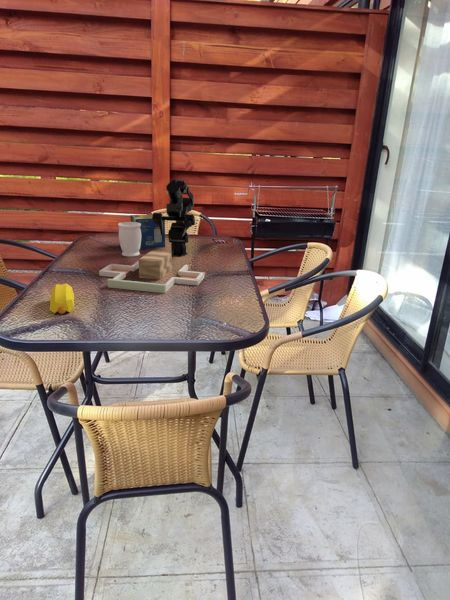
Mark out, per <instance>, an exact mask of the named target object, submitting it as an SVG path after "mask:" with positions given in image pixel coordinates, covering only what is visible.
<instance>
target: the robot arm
mask: <svg viewBox="0 0 450 600" xmlns="http://www.w3.org/2000/svg"><path fill="white" fill-rule="evenodd" d="M166 192H167V194H168V197H169V202H168V203H167V204H166V207H165V209H166V215H163V214H162V212H153V213H152V219H153V221H154V223H155V224H157V225H159V227H160V232H161V236H162V235H163V220H165V221H168V222H169V221H170V222H171V221H172V223H171V225H170V227H169V228H170V229H168V234H167V235H168V243H171V251H170V252H172V256H175V257H182V256H183V257H184V256H185V255H188V252H187V245H186V244H188V243H189V235H188V232H187V231H188V230H189V228H192V227H193V226H195V225H196V218H195V214H192V213H189V212H191V211H192V210H193V207H194V206H195V199H194V197H195V196H194V194H193V193H192V192H191V191H190V186H188V184H187V183H186V181H185V180H183V179H182V180H181V179H171V180H170V182H169V183H168V184H167V185H166ZM183 195H187V196H188V197H187V196H183Z"/></svg>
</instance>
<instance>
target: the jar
mask: <svg viewBox="0 0 450 600" xmlns="http://www.w3.org/2000/svg"><path fill="white" fill-rule="evenodd" d="M140 226H141V223H138V222H131V221H124V222H123V221H122V222H118V225H117V227H119V228H118V242H119V245H120V248H121V250H122V253H121V256H123V257H128V258H129V257H131V258H132V257H137V256H140V255H141V253H140V250H141V249H140V246H141V229H140Z"/></svg>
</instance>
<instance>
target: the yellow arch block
mask: <svg viewBox="0 0 450 600" xmlns="http://www.w3.org/2000/svg"><path fill="white" fill-rule="evenodd" d="M74 309H75V294H74V290H73V287H72V286H71V285H69V284H68V283H62V284H58V283H56V284H54V286H53V287H52V288H51V291H50V298H49V311H50V312H51V313H53V314H57V313H58V314H60V315H63V314H65V313H66V312H68V313H69V312H70V313H71V312H72V311H73V310H74Z"/></svg>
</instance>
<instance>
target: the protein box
mask: <svg viewBox="0 0 450 600" xmlns="http://www.w3.org/2000/svg"><path fill="white" fill-rule="evenodd" d="M152 214H153V213H152ZM152 214H151V213H149V214H132V215H131V214H130V222H138V223H141V226H140V229H141V246H140V250H147V249H159V248H166V220H163V235H162V236H161V232H160V227H159V225H157V224H155V223H154V221H153V219H152Z"/></svg>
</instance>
